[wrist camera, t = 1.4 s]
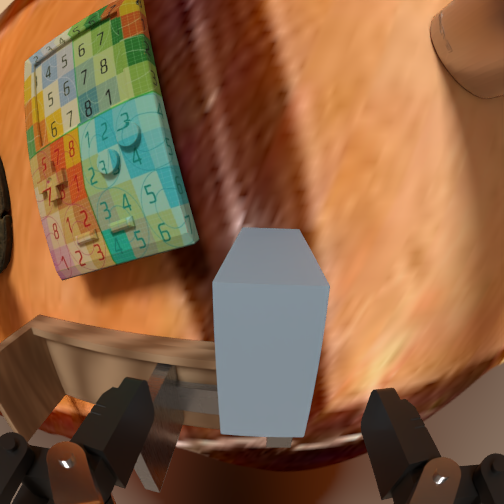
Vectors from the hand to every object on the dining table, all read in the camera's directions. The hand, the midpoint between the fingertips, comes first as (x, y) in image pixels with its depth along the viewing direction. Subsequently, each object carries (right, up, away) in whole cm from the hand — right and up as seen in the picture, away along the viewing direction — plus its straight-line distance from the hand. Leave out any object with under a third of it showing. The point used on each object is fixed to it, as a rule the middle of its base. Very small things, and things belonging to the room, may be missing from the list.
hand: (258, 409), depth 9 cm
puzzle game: (-12, +15, +11) cm, 22 cm away
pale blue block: (+1, +3, +12) cm, 13 cm away
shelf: (-10, -7, +16) cm, 19 cm away
